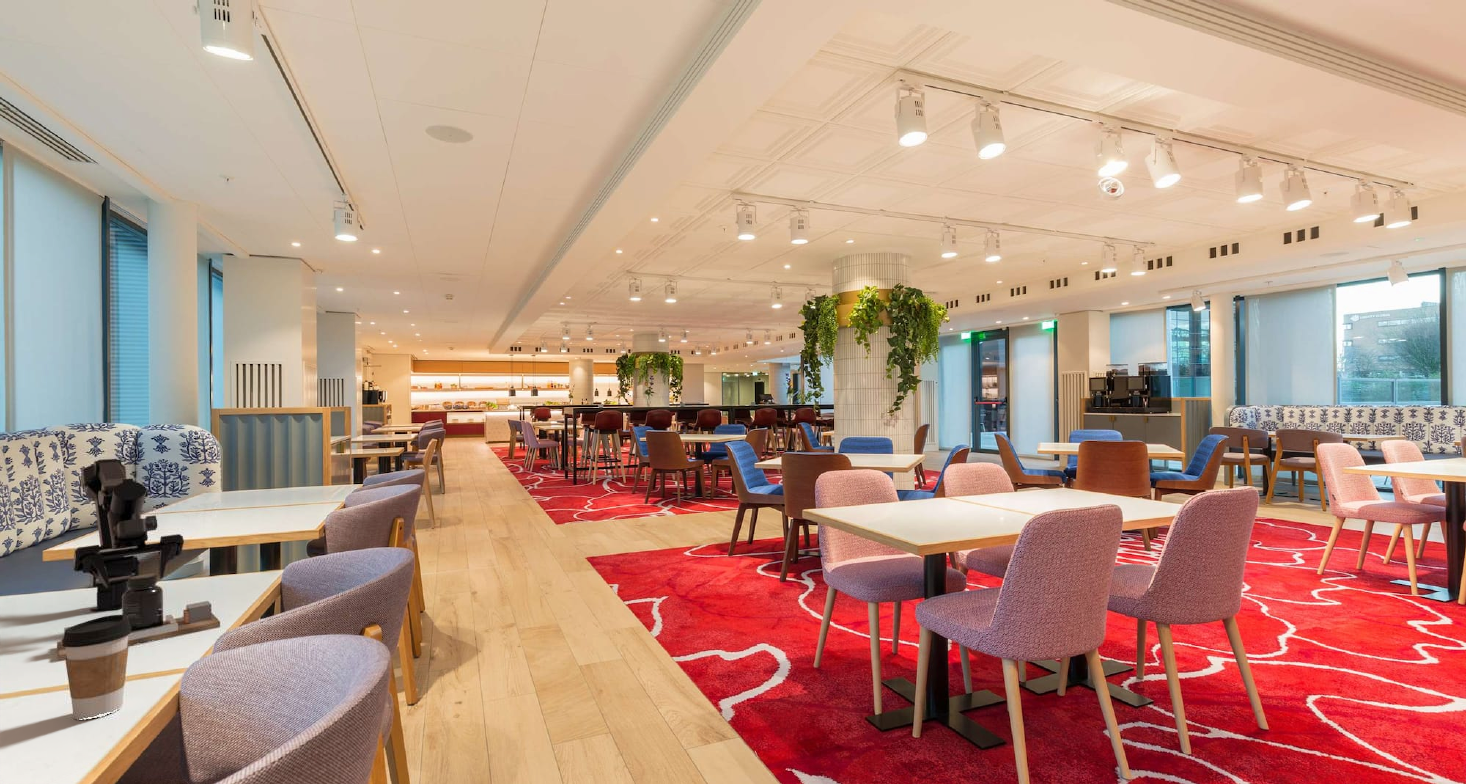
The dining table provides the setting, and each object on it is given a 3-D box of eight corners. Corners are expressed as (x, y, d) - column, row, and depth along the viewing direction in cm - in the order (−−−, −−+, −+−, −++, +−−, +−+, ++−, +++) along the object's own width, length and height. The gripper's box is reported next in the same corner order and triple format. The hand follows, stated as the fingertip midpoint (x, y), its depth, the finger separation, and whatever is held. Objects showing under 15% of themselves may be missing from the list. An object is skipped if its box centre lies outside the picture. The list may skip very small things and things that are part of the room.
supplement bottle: (170, 627, 150) (169, 574, 150) (132, 638, 144) (131, 582, 144) (153, 624, 153) (152, 571, 153) (115, 633, 147) (115, 578, 147)
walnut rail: (210, 616, 161) (210, 597, 161) (220, 626, 154) (219, 606, 154) (57, 647, 142) (56, 625, 142) (59, 661, 135) (59, 637, 135)
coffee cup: (144, 704, 114) (143, 616, 114) (82, 728, 106) (81, 633, 106) (112, 698, 117) (111, 612, 117) (50, 720, 109) (49, 628, 109)
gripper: (74, 511, 148) (81, 569, 141) (181, 500, 163) (193, 552, 156) (70, 542, 153) (77, 599, 146) (174, 529, 168) (185, 580, 161)
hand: (135, 582), depth 152 cm, fingers open, 9 cm apart
